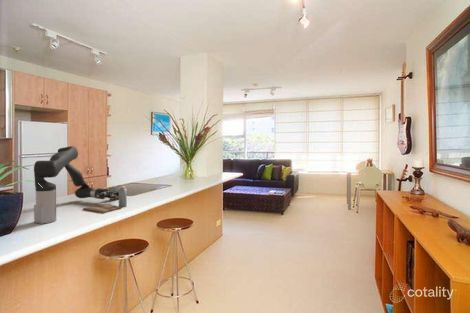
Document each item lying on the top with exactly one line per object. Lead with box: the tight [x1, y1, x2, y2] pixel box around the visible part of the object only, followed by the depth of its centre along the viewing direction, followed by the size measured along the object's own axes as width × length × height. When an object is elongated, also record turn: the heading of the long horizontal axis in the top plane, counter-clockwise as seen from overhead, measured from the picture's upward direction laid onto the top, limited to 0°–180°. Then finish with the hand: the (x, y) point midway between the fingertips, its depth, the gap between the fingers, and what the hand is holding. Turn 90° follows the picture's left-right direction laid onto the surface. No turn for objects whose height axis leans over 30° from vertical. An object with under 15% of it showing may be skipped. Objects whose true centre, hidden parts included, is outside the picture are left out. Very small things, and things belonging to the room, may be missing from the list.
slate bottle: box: [118, 185, 128, 208], centre depth 189 cm, size 5×5×14 cm
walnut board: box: [82, 203, 122, 214], centre depth 180 cm, size 14×18×1 cm
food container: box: [107, 184, 122, 202], centre depth 211 cm, size 12×6×10 cm, turn 168°
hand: (115, 195), depth 191 cm, fingers open, 8 cm apart
